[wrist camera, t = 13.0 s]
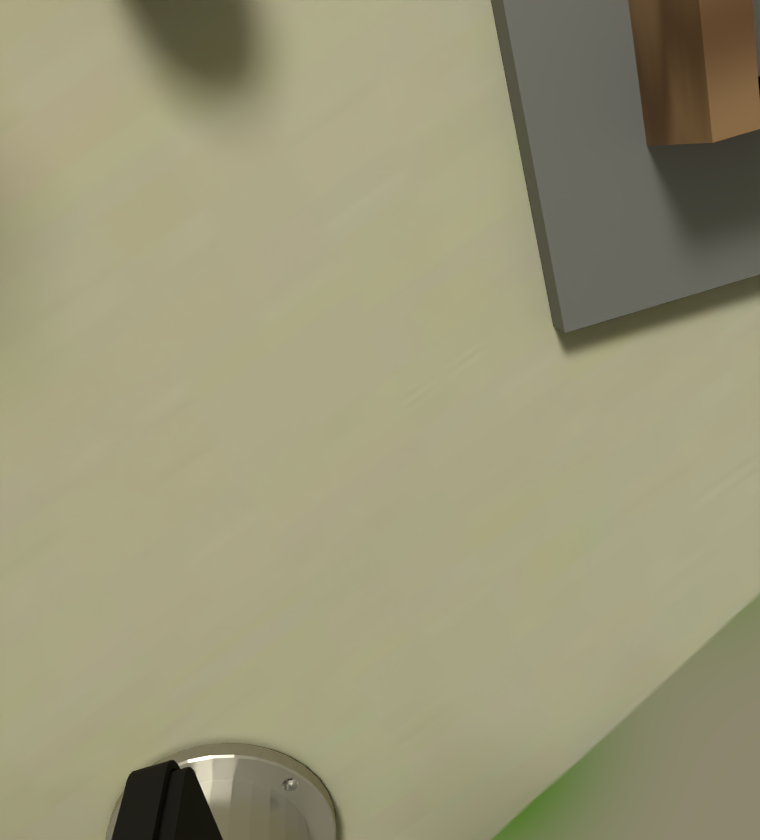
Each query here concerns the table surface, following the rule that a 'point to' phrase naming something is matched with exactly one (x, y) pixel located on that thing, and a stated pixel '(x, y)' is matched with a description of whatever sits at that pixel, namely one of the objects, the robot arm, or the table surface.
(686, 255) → the plate
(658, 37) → the open wooden cubby
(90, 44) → the table surface
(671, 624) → the table surface
